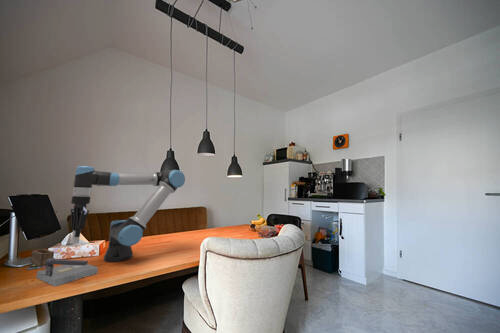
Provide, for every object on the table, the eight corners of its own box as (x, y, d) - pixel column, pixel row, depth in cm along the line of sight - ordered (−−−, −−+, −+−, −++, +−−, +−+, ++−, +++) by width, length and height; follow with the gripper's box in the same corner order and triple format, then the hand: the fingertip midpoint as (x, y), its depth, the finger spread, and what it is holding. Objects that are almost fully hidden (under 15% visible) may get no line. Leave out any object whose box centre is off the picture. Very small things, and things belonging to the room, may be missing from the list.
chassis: (78, 267, 116) (79, 253, 117) (97, 273, 108) (98, 258, 109) (35, 278, 101) (37, 262, 101) (54, 286, 93) (56, 269, 93)
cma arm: (43, 264, 97) (44, 260, 97) (50, 262, 100) (50, 258, 100) (82, 266, 96) (83, 261, 96) (88, 264, 99) (89, 259, 100)
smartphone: (25, 271, 110) (25, 268, 110) (36, 262, 123) (36, 260, 123) (46, 268, 114) (46, 266, 114) (54, 260, 127) (55, 258, 127)
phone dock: (42, 261, 123) (44, 248, 124) (52, 265, 118) (54, 251, 119) (30, 264, 119) (31, 250, 120) (39, 268, 113) (41, 254, 114)
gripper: (66, 195, 110) (59, 243, 107) (79, 196, 104) (72, 246, 101) (83, 195, 117) (76, 240, 114) (96, 196, 111) (90, 243, 108)
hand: (74, 243), depth 107 cm, fingers closed
